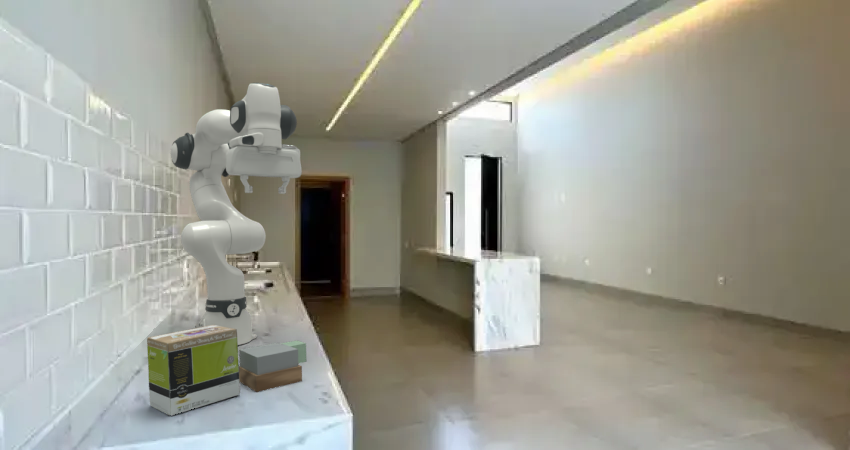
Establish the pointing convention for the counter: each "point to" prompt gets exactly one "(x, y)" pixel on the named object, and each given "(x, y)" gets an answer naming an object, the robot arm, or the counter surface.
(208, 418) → the counter surface
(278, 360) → the slate slab
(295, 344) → the sage cube
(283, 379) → the walnut slab
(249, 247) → the robot arm
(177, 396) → the tea box
